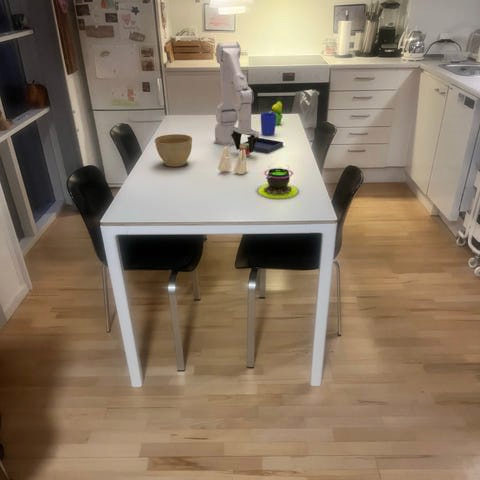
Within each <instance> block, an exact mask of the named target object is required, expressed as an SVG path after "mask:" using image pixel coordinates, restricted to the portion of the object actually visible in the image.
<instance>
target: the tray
mask: <svg viewBox="0 0 480 480" xmlns="http://www.w3.org/2000/svg"><path fill="white" fill-rule="evenodd" d="M243 143H247V144H249V142H248V140H247V141H244V142H243ZM283 147H284V141H279V140H275V139H268V138H262V137H258V139H257V141H256V143H255V146H254V150H253V152H255V153H256V152H258V153H262V154H271V153H272V152H275V151H276V150H278V149H281V148H283Z"/></svg>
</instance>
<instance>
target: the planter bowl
mask: <svg viewBox="0 0 480 480" xmlns="http://www.w3.org/2000/svg"><path fill="white" fill-rule="evenodd" d="M154 143H155V148H156V151H157V155H159V157H160V159H161V160H162V161H163V163H164V165H165V166H166V167H171V168H174V167H176V168H177V167H183V166H185V165H186V164H187V160H188V159H189V158H190V156H191V152H192V147H193V137H192V136H191V135H188V134H183V133H182V134H181V133H175V134H174V133H172V134H163V135H159V136H157V137H155V138H154Z"/></svg>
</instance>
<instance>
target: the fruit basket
mask: <svg viewBox="0 0 480 480" xmlns="http://www.w3.org/2000/svg"><path fill="white" fill-rule="evenodd" d="M282 108H283V104H282V101H279V100H278V101H277V102H276V103H274V104H273V105H272V106H271V110H269V111H265V112H263V113H275V114H276V115H277V116H276V125H275V126H280V125H281V122H282V118H283V114H282V110H283V109H282Z"/></svg>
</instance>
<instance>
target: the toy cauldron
mask: <svg viewBox="0 0 480 480" xmlns="http://www.w3.org/2000/svg"><path fill="white" fill-rule="evenodd" d="M272 165H273V164H270V165H268V169H266V170H264V171H263V175H264V176H265V179H266V182H267V184H264V185H262V186H260V187H259V188H258V193H259V195H260V196H263V197H265V198H269V199H275V200H276V199H277V200H278V199H282V200H283V199H289V198H292V197H295V196H296V195H297V194H298V189H297V188H296V187H295V186H292V185H289V183H290V181H291V180H290V179H291V177H292V176H294V174H295V173H294V171H292V170H290V169H289V168H290V167H289V164H286V166H288V167H287V168H283V167H282V166H280V167H279V168H278V167H275V168H270V166H272Z"/></svg>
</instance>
